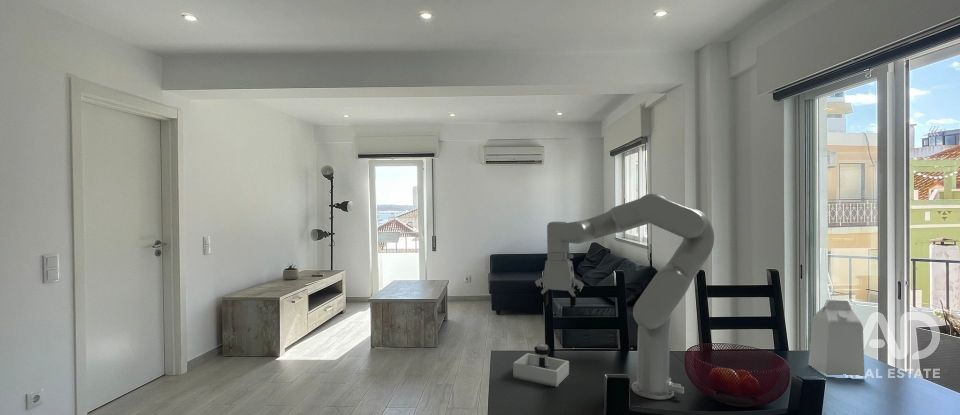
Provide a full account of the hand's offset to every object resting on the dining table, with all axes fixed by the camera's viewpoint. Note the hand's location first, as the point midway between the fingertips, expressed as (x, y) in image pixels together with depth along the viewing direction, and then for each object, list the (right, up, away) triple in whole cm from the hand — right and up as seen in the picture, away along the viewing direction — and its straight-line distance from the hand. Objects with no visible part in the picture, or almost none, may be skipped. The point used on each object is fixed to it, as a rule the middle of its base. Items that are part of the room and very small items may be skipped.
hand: (559, 306), depth 162 cm
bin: (-7, -23, -3) cm, 25 cm away
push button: (-6, -23, -4) cm, 24 cm away
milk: (+99, -25, +3) cm, 102 cm away
